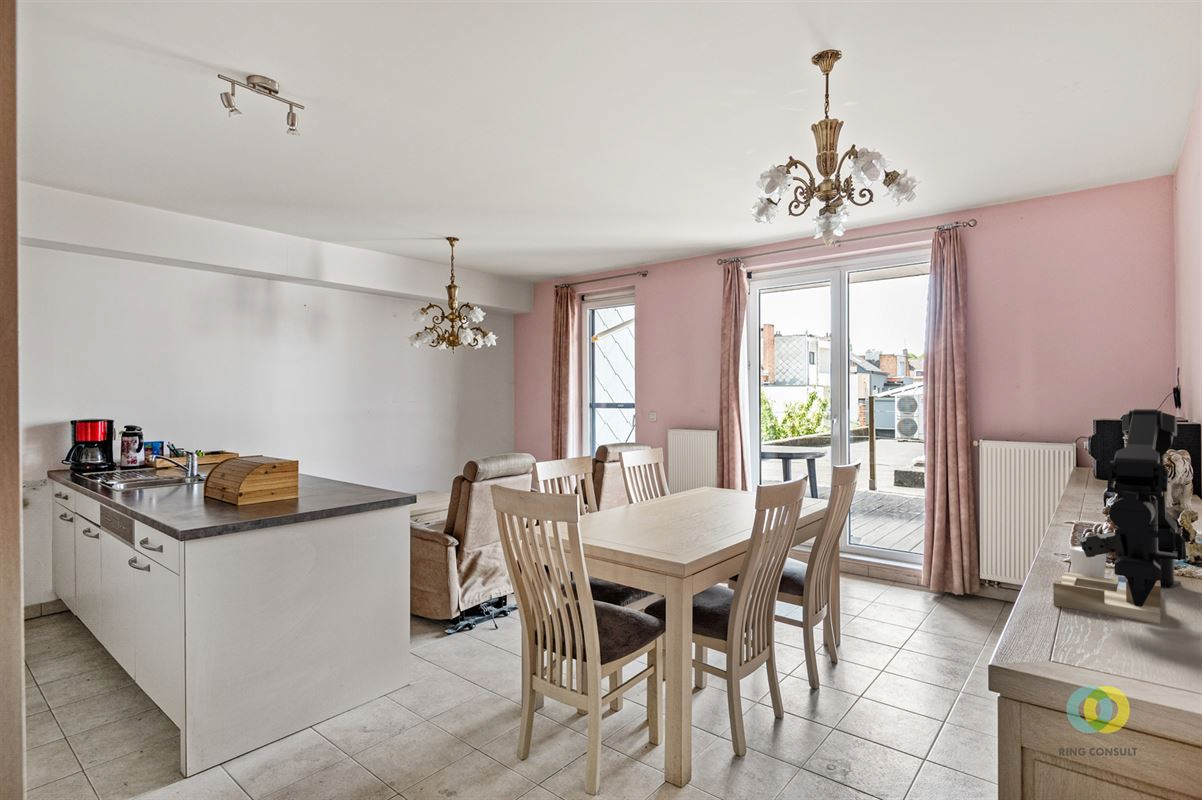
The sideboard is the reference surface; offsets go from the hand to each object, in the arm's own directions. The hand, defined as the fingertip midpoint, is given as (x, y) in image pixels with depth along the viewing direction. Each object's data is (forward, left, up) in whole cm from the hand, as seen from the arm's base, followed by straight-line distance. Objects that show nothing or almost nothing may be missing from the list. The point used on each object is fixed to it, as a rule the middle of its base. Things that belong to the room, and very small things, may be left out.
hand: (1138, 605), depth 114 cm
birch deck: (-10, -9, -3) cm, 14 cm away
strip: (-18, -7, -3) cm, 20 cm away
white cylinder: (-23, -18, -3) cm, 30 cm away
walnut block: (-8, -2, -1) cm, 8 cm away
